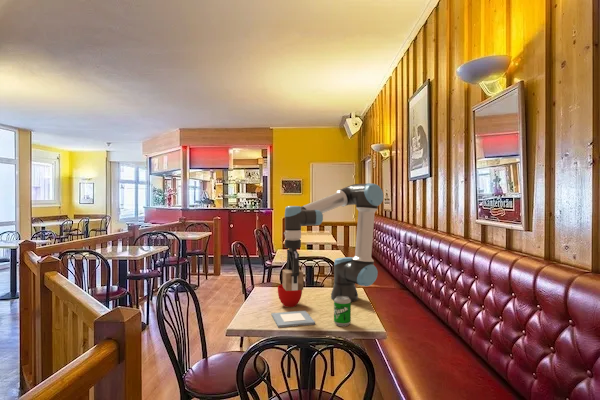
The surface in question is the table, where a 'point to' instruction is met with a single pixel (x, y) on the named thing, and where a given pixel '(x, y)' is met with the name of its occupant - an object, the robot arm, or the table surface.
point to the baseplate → (292, 319)
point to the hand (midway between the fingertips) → (292, 287)
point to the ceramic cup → (289, 296)
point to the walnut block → (288, 280)
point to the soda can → (342, 311)
